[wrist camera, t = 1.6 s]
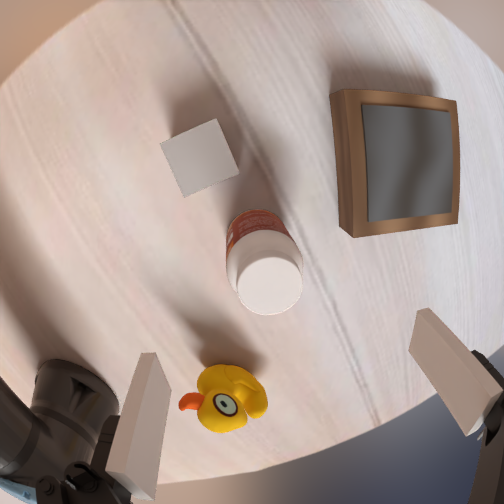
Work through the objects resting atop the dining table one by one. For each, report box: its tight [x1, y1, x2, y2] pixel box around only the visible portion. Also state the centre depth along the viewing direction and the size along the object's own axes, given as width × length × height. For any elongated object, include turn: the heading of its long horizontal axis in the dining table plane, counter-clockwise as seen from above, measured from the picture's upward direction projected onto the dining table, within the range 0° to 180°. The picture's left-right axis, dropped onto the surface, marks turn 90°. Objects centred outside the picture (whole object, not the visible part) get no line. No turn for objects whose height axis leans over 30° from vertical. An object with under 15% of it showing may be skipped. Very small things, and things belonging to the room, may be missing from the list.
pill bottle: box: [226, 209, 303, 315], centre depth 25 cm, size 6×6×11 cm
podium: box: [329, 89, 460, 238], centre depth 26 cm, size 14×14×4 cm
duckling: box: [179, 364, 268, 433], centre depth 32 cm, size 11×5×10 cm, turn 60°
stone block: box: [160, 118, 240, 198], centre depth 25 cm, size 5×5×5 cm
